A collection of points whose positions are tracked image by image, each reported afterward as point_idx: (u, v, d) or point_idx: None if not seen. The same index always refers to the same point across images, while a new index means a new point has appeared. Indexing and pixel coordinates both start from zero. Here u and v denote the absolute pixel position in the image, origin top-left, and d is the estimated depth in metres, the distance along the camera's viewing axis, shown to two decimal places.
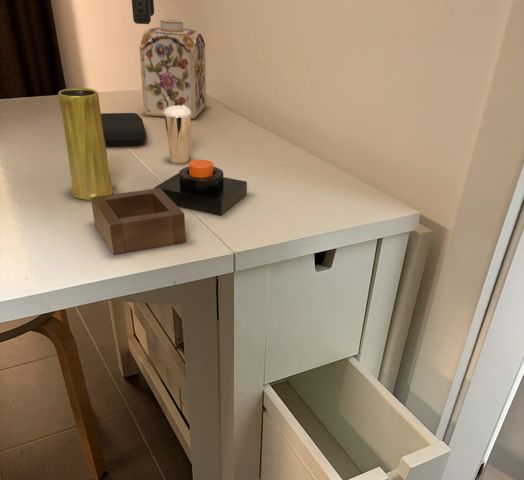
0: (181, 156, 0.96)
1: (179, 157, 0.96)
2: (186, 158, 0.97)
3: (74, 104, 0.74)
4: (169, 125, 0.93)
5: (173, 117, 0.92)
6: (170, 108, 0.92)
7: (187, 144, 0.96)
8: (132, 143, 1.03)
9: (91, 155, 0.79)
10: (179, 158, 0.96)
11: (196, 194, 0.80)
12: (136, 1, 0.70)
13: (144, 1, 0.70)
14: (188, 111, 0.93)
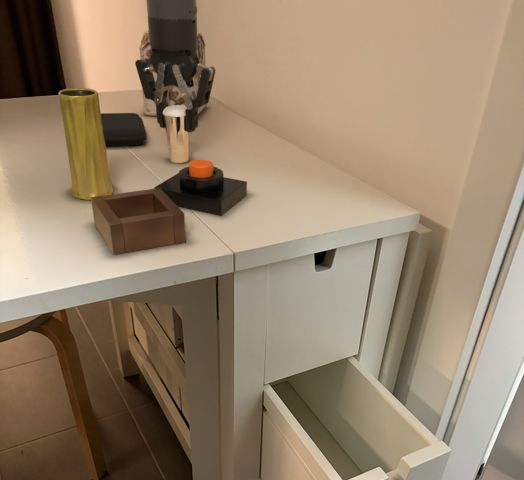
0: (181, 156, 0.96)
1: (179, 157, 0.96)
2: (186, 157, 0.97)
3: (74, 104, 0.74)
4: (168, 125, 0.93)
5: (171, 116, 0.92)
6: (169, 108, 0.92)
7: (187, 143, 0.96)
8: (132, 143, 1.03)
9: (91, 155, 0.79)
10: (179, 158, 0.96)
11: (196, 194, 0.80)
12: (194, 117, 0.92)
13: (197, 115, 0.93)
14: None
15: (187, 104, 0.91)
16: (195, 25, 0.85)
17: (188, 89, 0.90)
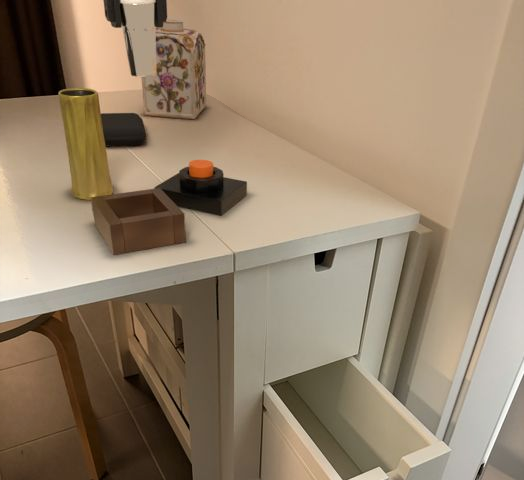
0: (153, 65, 0.69)
1: (152, 67, 0.69)
2: (155, 68, 0.70)
3: (74, 104, 0.74)
4: (139, 18, 0.65)
5: (145, 4, 0.64)
6: None
7: None
8: (132, 143, 1.03)
9: (91, 155, 0.79)
10: (152, 68, 0.69)
11: (196, 194, 0.80)
12: None
13: None
14: None
15: None
16: None
17: None
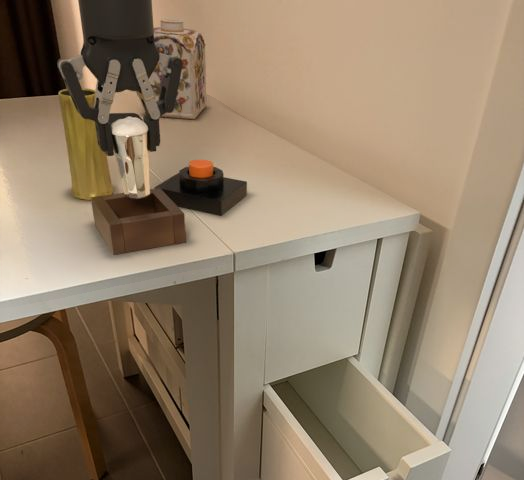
0: (146, 187, 0.69)
1: (146, 189, 0.69)
2: (149, 188, 0.70)
3: None
4: (131, 148, 0.65)
5: (137, 135, 0.64)
6: (125, 124, 0.64)
7: None
8: None
9: (91, 155, 0.79)
10: (145, 190, 0.69)
11: (196, 194, 0.80)
12: None
13: None
14: None
15: (153, 113, 0.65)
16: None
17: None
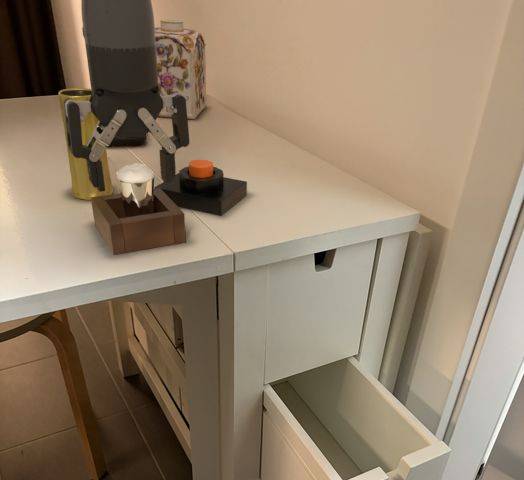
0: None
1: None
2: None
3: None
4: (137, 194, 0.68)
5: (143, 182, 0.67)
6: (133, 171, 0.67)
7: None
8: (132, 143, 1.03)
9: None
10: None
11: (196, 194, 0.80)
12: None
13: None
14: None
15: (169, 147, 0.68)
16: None
17: None
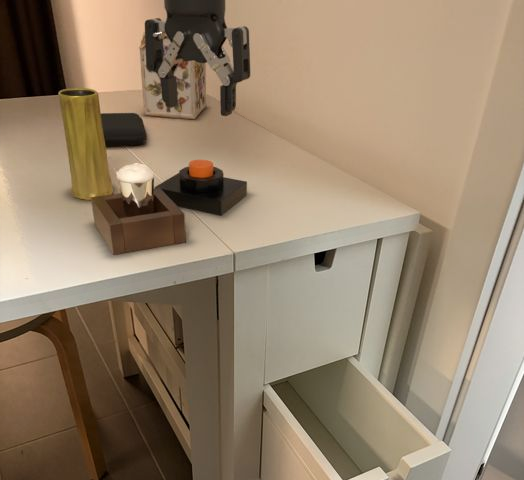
0: None
1: None
2: None
3: (74, 104, 0.74)
4: (137, 194, 0.68)
5: (143, 182, 0.67)
6: (133, 171, 0.67)
7: None
8: (132, 143, 1.03)
9: (91, 155, 0.79)
10: None
11: (196, 194, 0.80)
12: (232, 96, 0.72)
13: (235, 94, 0.73)
14: None
15: (223, 79, 0.71)
16: None
17: (219, 60, 0.70)
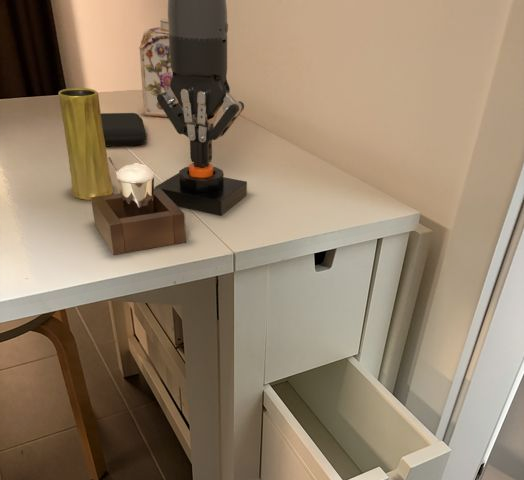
0: None
1: None
2: None
3: (74, 104, 0.74)
4: (137, 194, 0.68)
5: (143, 182, 0.67)
6: (133, 171, 0.67)
7: None
8: (132, 143, 1.03)
9: (91, 155, 0.79)
10: None
11: (196, 194, 0.80)
12: (208, 150, 0.79)
13: (211, 148, 0.80)
14: None
15: (200, 136, 0.78)
16: (225, 45, 0.71)
17: (207, 121, 0.76)
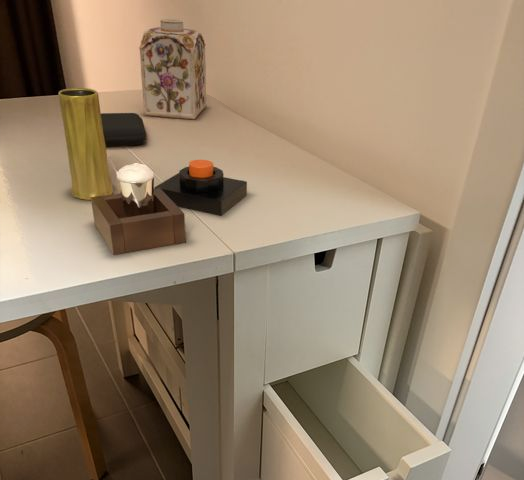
0: None
1: None
2: None
3: (74, 104, 0.74)
4: (137, 194, 0.68)
5: (143, 182, 0.67)
6: (133, 171, 0.67)
7: None
8: (132, 143, 1.03)
9: (91, 155, 0.79)
10: None
11: (196, 194, 0.80)
12: None
13: None
14: None
15: None
16: None
17: None
